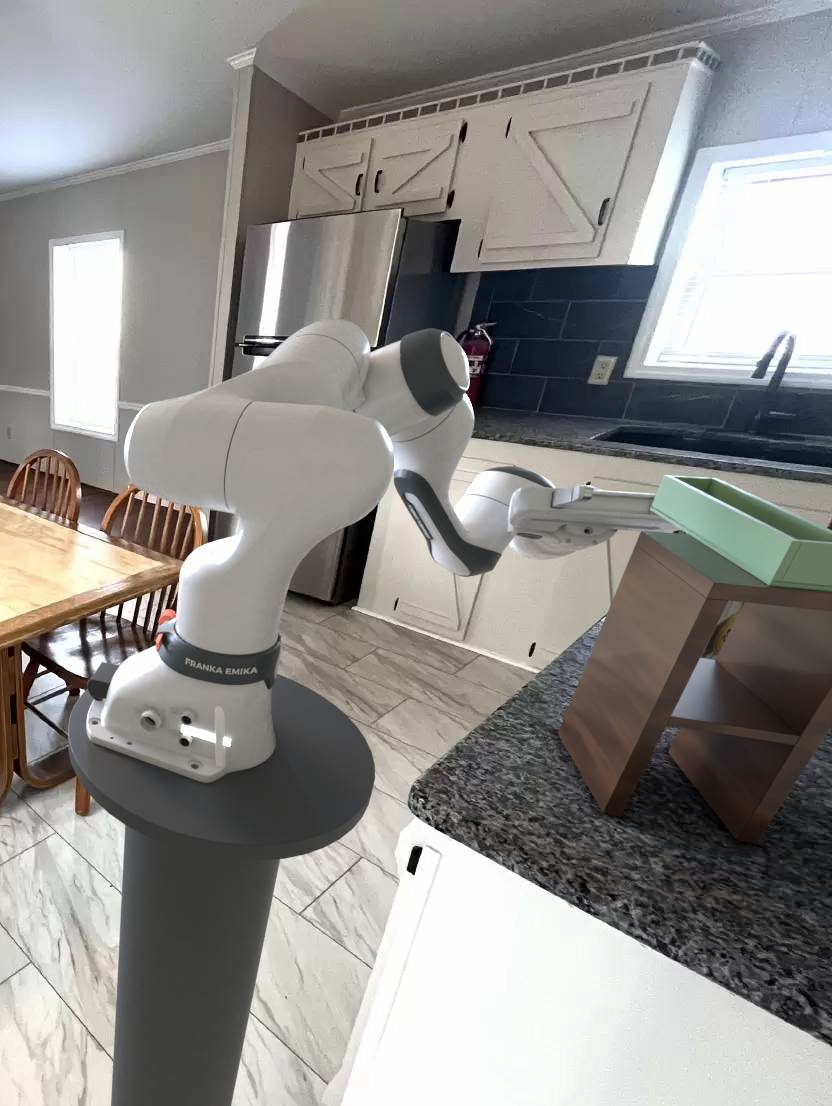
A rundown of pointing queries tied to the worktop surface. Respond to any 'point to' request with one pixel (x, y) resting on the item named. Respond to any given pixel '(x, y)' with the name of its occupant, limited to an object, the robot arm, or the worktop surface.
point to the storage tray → (749, 531)
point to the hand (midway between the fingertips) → (632, 494)
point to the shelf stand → (703, 683)
